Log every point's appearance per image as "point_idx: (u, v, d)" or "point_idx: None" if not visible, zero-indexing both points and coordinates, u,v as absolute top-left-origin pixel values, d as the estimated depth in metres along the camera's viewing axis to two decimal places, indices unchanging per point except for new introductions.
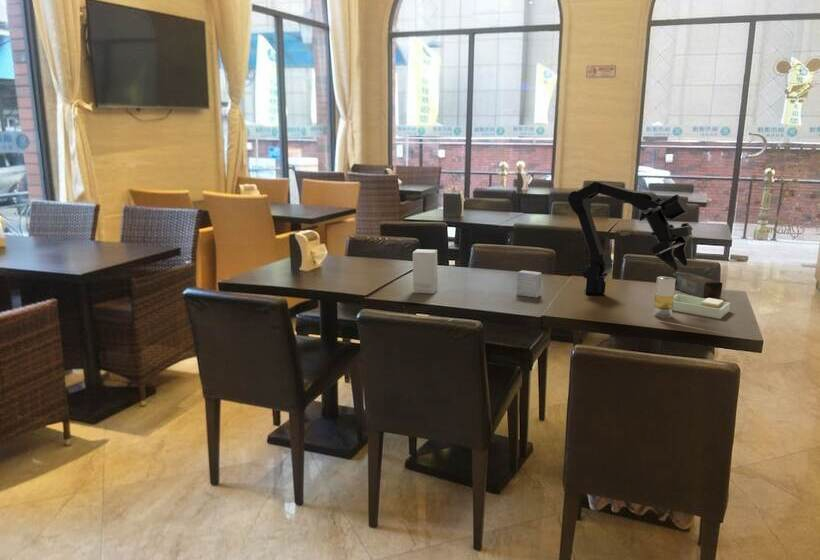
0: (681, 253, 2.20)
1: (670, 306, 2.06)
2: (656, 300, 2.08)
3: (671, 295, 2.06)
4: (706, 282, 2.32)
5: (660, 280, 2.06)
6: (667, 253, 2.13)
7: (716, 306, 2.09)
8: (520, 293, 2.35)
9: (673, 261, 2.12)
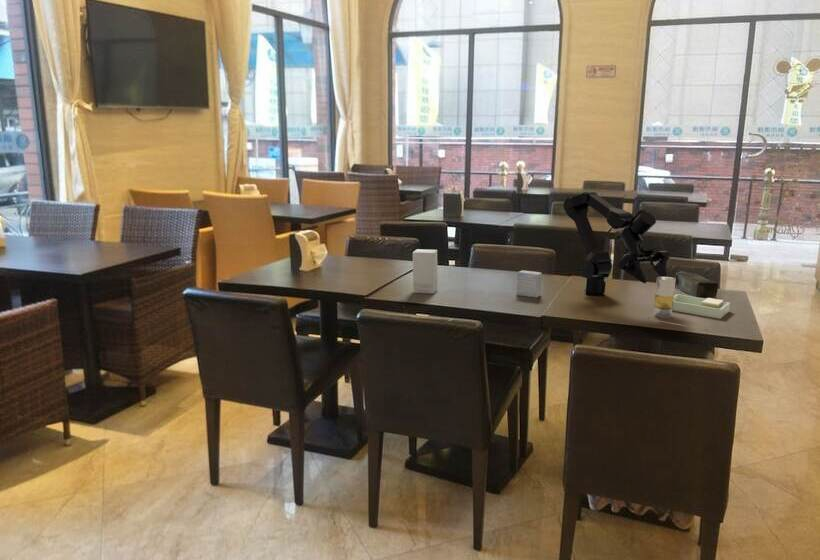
0: (661, 269, 2.15)
1: (670, 306, 2.06)
2: (656, 300, 2.08)
3: (671, 295, 2.06)
4: (700, 282, 2.33)
5: (660, 280, 2.06)
6: (634, 267, 2.11)
7: (716, 306, 2.09)
8: (520, 293, 2.35)
9: (640, 274, 2.10)
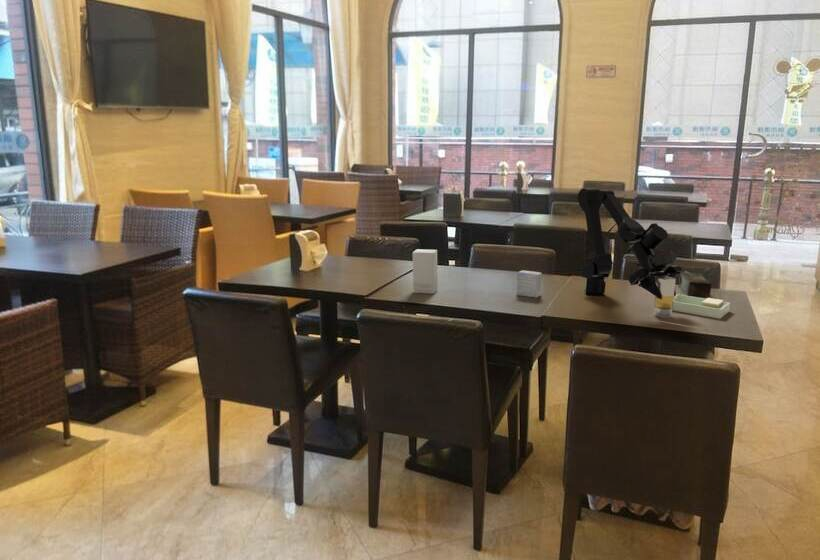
0: None
1: (670, 306, 2.06)
2: (656, 300, 2.08)
3: (671, 295, 2.06)
4: (692, 281, 2.34)
5: (660, 280, 2.06)
6: (649, 282, 2.08)
7: (716, 306, 2.09)
8: (520, 293, 2.35)
9: (655, 289, 2.06)
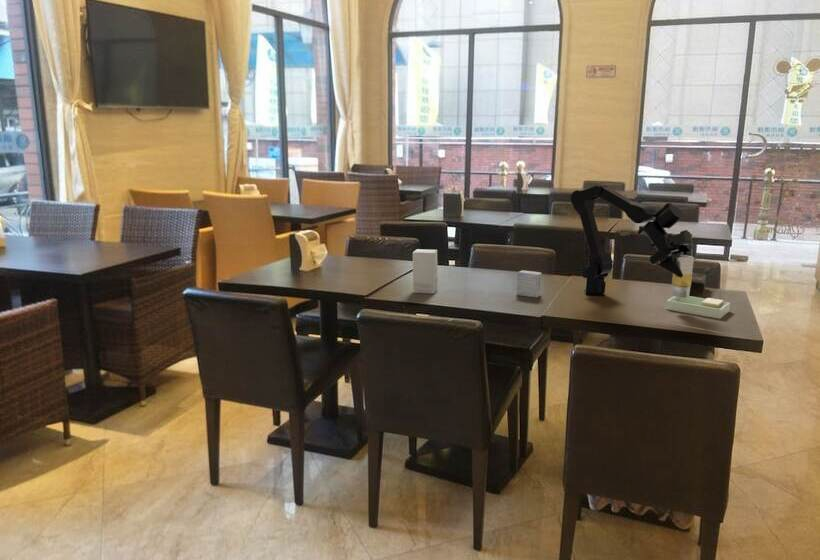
0: None
1: (689, 283, 2.10)
2: (676, 279, 2.10)
3: (691, 273, 2.09)
4: None
5: (681, 259, 2.08)
6: (669, 261, 2.10)
7: (716, 306, 2.09)
8: (520, 293, 2.35)
9: (676, 268, 2.08)
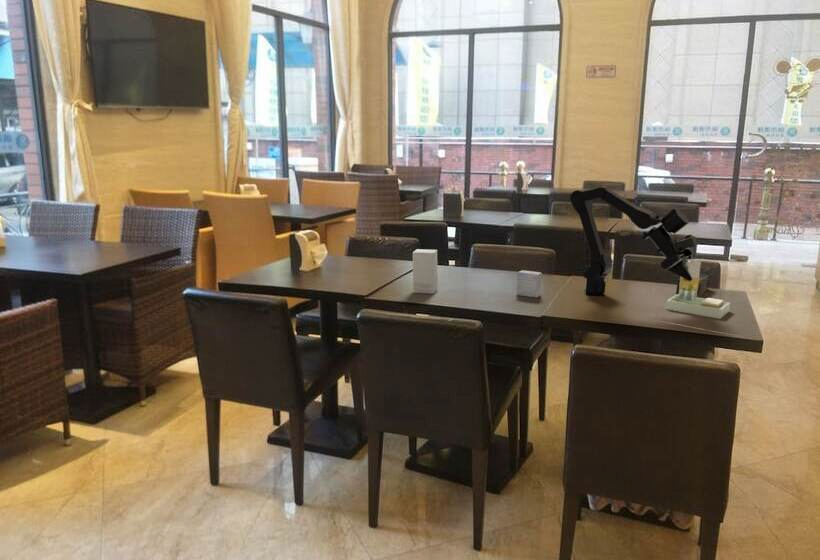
0: None
1: (697, 286, 2.15)
2: (685, 282, 2.15)
3: (698, 276, 2.15)
4: None
5: (690, 263, 2.13)
6: (678, 265, 2.14)
7: (716, 306, 2.09)
8: (520, 293, 2.35)
9: (686, 272, 2.13)
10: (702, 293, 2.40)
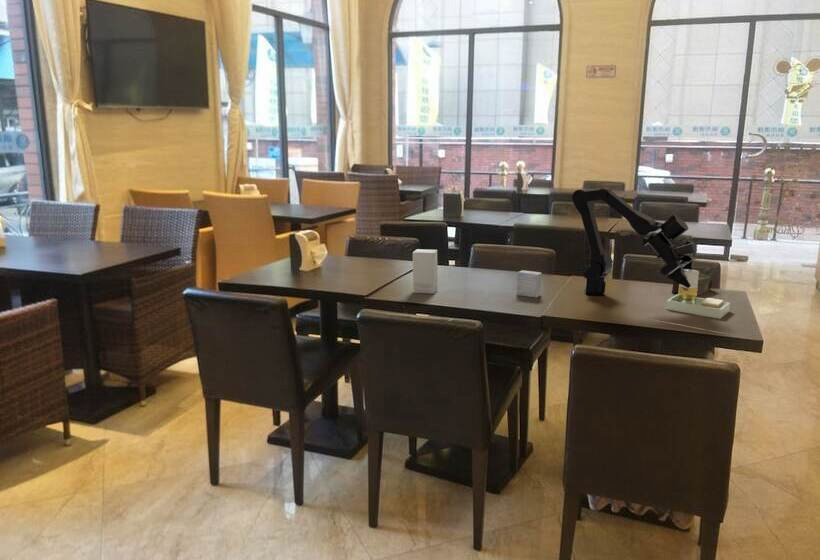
0: None
1: (696, 296, 2.16)
2: (683, 292, 2.16)
3: None
4: None
5: (688, 273, 2.14)
6: (677, 272, 2.13)
7: (716, 306, 2.09)
8: (520, 293, 2.35)
9: (684, 279, 2.12)
10: (701, 293, 2.39)
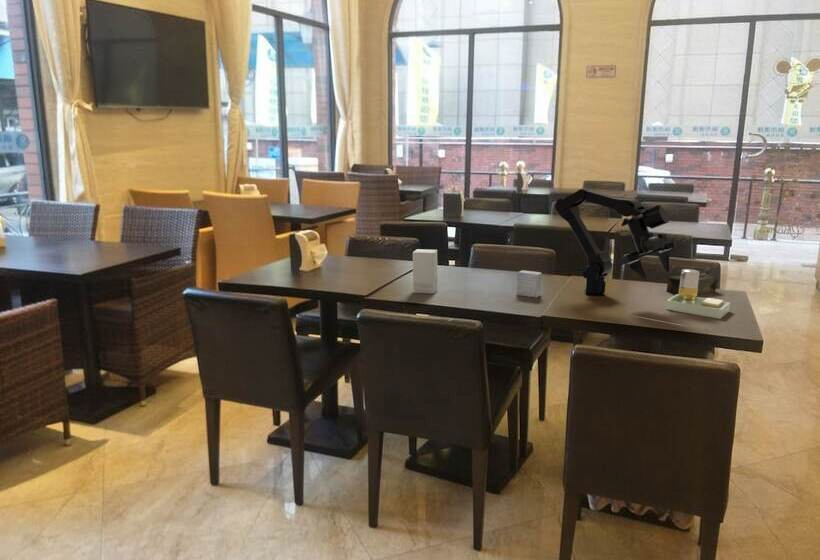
0: (664, 260, 2.23)
1: (696, 297, 2.16)
2: (684, 293, 2.16)
3: (697, 286, 2.15)
4: (672, 277, 2.40)
5: (688, 273, 2.14)
6: (636, 264, 2.21)
7: (716, 306, 2.09)
8: (520, 293, 2.35)
9: (640, 272, 2.20)
10: (698, 293, 2.39)
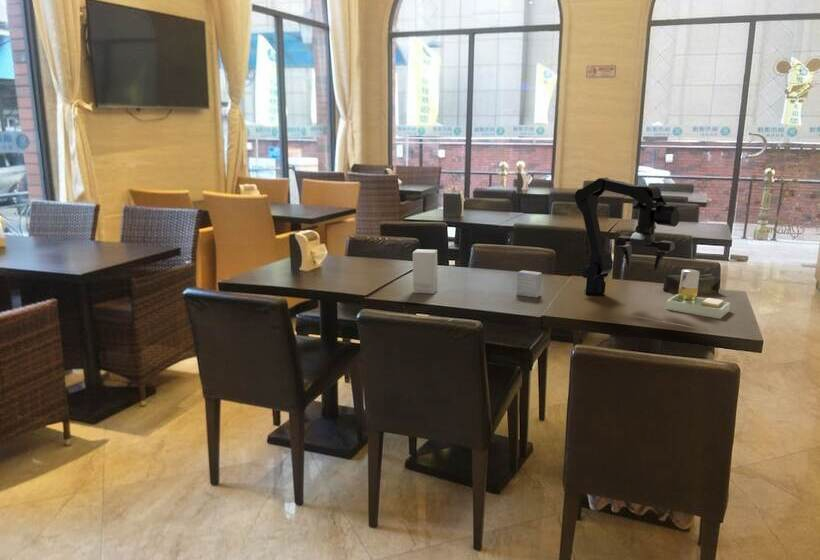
0: None
1: (696, 297, 2.16)
2: (684, 293, 2.16)
3: (697, 286, 2.15)
4: (668, 275, 2.43)
5: (688, 273, 2.14)
6: None
7: (716, 306, 2.09)
8: (520, 293, 2.35)
9: None
10: None
